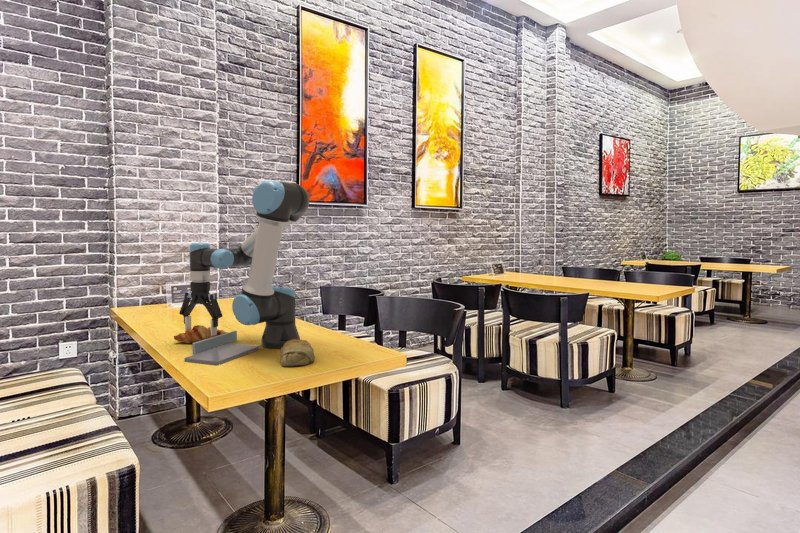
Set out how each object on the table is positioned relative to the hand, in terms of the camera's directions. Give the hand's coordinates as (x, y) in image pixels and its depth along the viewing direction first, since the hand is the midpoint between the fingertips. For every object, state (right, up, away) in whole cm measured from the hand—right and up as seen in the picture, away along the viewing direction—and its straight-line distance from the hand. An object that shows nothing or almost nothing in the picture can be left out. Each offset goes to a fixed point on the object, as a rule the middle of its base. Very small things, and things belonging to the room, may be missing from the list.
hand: (200, 333), depth 201 cm
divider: (+9, -4, -8) cm, 13 cm away
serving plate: (+17, -5, -20) cm, 27 cm away
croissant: (+1, -3, 0) cm, 3 cm away
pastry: (+45, -6, -29) cm, 54 cm away
